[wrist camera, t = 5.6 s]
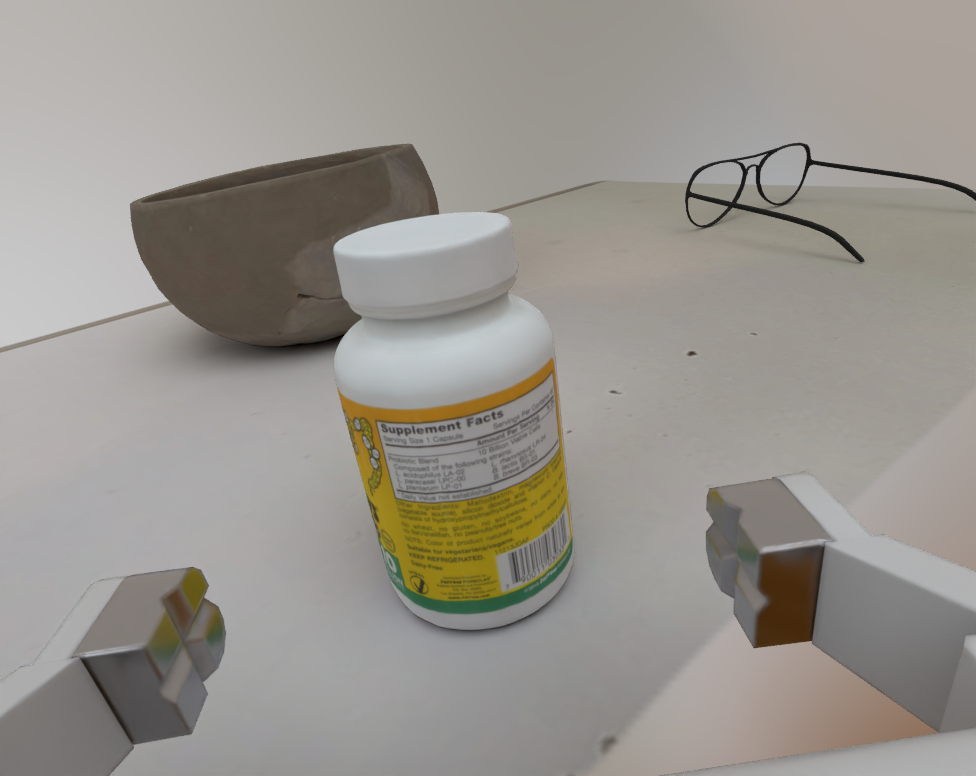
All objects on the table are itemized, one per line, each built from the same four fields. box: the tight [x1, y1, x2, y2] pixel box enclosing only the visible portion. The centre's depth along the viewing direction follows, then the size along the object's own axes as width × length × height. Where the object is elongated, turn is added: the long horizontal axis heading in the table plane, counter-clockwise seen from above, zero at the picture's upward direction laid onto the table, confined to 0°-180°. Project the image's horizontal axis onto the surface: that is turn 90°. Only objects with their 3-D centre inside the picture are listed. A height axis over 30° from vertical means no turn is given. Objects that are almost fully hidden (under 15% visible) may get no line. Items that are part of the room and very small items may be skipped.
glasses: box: [685, 143, 976, 262], centre depth 44 cm, size 14×15×5 cm
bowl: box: [130, 144, 439, 346], centre depth 39 cm, size 17×18×10 cm
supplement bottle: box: [333, 212, 574, 630], centre depth 16 cm, size 5×5×10 cm
